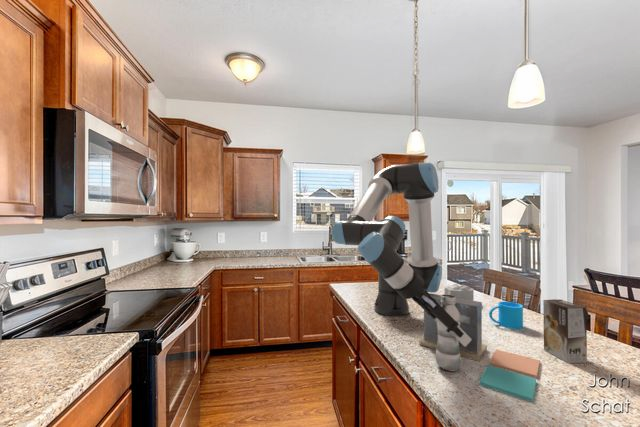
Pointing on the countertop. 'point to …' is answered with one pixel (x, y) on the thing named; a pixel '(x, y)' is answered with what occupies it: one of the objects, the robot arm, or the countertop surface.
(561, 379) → the countertop surface
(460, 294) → the lumpy-topped squat cylinder
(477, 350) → the box
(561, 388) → the countertop surface
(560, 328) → the coffee box
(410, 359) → the countertop surface
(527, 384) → the teal pad
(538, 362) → the terracotta pad
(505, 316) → the mug
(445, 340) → the plastic bottle
